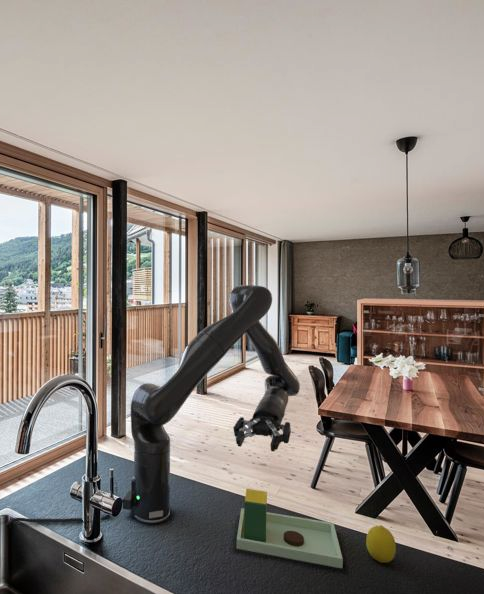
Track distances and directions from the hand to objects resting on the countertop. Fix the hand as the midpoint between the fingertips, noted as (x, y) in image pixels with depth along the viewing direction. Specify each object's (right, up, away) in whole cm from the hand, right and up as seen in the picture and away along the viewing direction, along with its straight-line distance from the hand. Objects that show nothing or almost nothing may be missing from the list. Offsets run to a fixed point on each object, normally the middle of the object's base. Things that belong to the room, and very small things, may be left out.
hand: (255, 445), depth 104 cm
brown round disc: (+6, -18, -10) cm, 22 cm away
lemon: (+23, -19, -16) cm, 34 cm away
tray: (+5, -19, -9) cm, 21 cm away
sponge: (-2, -18, -7) cm, 20 cm away
